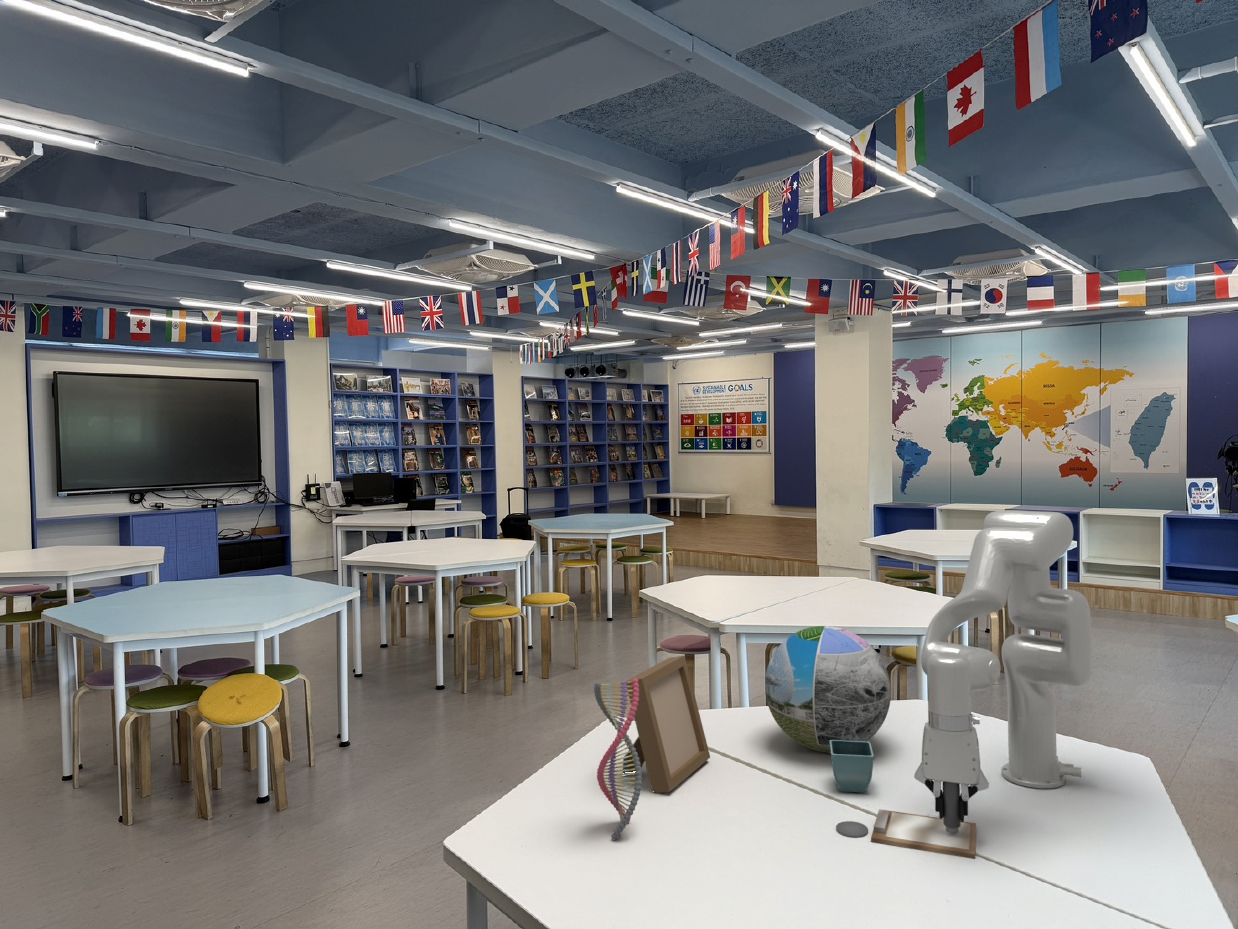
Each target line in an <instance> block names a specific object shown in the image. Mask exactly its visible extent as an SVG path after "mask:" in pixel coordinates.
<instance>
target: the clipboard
mask: <svg viewBox="0 0 1238 929" xmlns="http://www.w3.org/2000/svg"><path fill="white" fill-rule="evenodd" d="M875 817H876V818H875V821H874V824H873V830H872V833H871V836H870V842H871V843H877V844H881V845H882V844H883V845H888V846H896V847H900V848H901V847H902V848H907V849H914V850H920V851H927V852H932V853H940V854H945V855H951V856H957V857H964V858H969V859H976V847H977V846H976V843H977V842H976V841H977V823H976V822H971V821H970V822H969V821H964V822H961V821H960V824H961V826H960V827H959V828H958V833H955V834H953V833H949V832H947V831H946V826H945V825H944V824H943V818H942V819H940V818H939V817H937V816H936V817H935V816H929V815H922V814H915V813H909V812H903V811H902V812H901V811H894V810H888V809H881V808H879V809H878V811H877V815H876V816H875Z"/></svg>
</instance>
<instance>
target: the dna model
mask: <svg viewBox="0 0 1238 929" xmlns="http://www.w3.org/2000/svg"><path fill="white" fill-rule="evenodd" d="M627 683H632V686H627V685H626V684H627ZM614 685H621V686H614ZM606 686H607V687H606ZM609 686H610V687H609ZM629 687H632V688H633V690H627V688H629ZM638 688H639V684H638V680H637V678H634V679H632V681H628V682H627V680H623V681H620V682H612V683H601V682H600V681H596V682H595V683H594V688H593V689H594V690H593V691H594V697H595V700H596V703H597V705H598V706H599V708H600V710H601V711H602V713H603V714H604V715H603V716H605V717H606V718H607V720H608V721H609V723H611V725H612V727H614V730H616V731H617V734H616V736H615V738H614V740H613V741H612V743H611V744H610V745H609V747H608V748H607V751H605V753H604V754H603V756H602V758H601V759H600V761H599V764H598V768H597V771H596V773H597V774H596V779H597V782H598V786H599V789H600V790H601V792H602V793H603V795H605V798H607V800H608V801H609V802H610V805H613V808H614V809H615V811H617V813H618V815H619V823H618V825H617V826H616V827H615V829H614V830H613V833H612V834H611V836H610V837H611V839H612V840H613V839H614V841H617V839H618V838H619V837H620V835H621V833H622V832H623V831H624V829H625V828H626V826H627V825H628V822H629V823H630V821H631V818H632V817H631V816H633V815H634V811H635V809H636V807H637V804H638V801H639V800H640V798H639V797H640V795H641V791H642V780H643V777H642V775H643V774H642V769H641V767H640V765H641V764H640V762H639V757H637V756H638V753H637V752H636V748H634V743H632V739H631V738H630V736H629V735H628V731H629V730H630V726H631V725H632V722H633V721H634V720H635V719H634V716H635V712H636V711H637V706H638V701H639V698H638V697H639V689H638ZM609 689H612V690H609ZM613 689H616V690H613ZM631 691H633V694H628V692H631ZM620 692H621V693H620ZM610 696H611V697H610ZM612 696H614V697H612ZM629 696H633V698H632V699H630V698H628V697H629ZM611 700H612V701H611ZM613 700H615V701H613ZM630 700H631V701H633V702H632V703H631V702H630V703H629V702H627V701H630ZM611 703H612V704H611ZM616 704H617V705H616ZM619 704H620V705H619ZM629 706H630V707H629ZM617 708H619V709H617ZM611 710H612V711H611ZM626 710H629V711H626ZM614 714H615V715H614ZM626 714H628V715H626ZM616 715H618V716H619V717H618V716H616ZM623 742H624V743H623ZM622 743H623V744H622ZM624 746H626V747H624ZM623 747H624V748H623ZM622 748H623V749H622ZM618 750H619V751H618ZM626 750H628V751H626ZM623 751H625V752H623ZM621 752H623V753H621ZM627 753H631V755H630V756H626V757H624V756H625V755H626V754H627ZM623 755H624V756H623ZM620 756H623V757H620ZM618 757H619V758H618ZM627 757H632V758H633V759H632V760H627V761H622V760H623V759H624V758H627ZM617 761H620V762H617ZM630 761H633V762H634V764H629V765H625V766H623V763H627V762H630ZM616 765H617V766H616ZM618 765H619V766H618ZM628 766H635V768H634V769H624V770H623V767H628ZM621 768H622V769H621ZM616 769H618V770H616ZM631 770H635V771H636V772H635V773H624V774H623V771H631ZM621 772H622V773H621ZM622 775H628V776H632V775H635V777H617V776H622ZM616 780H635V782H634V781H616ZM621 784H624V785H621ZM625 784H626V785H625ZM627 784H629V785H634V786H628V785H627ZM623 788H626V789H631V790H633V791H630V790H626V789H623ZM618 791H619V792H618ZM621 792H625V793H628V794H624V793H621ZM629 793H630V795H629ZM631 794H633V795H631ZM623 796H624V797H628V798H631V800H629V799H628V798H624V797H623ZM621 799H622V800H624V801H626V802H629V804H628V803H626V802H624V801H622V800H621ZM624 805H625V806H626V807H625V806H624ZM627 807H628V808H627Z"/></svg>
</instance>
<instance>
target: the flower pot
mask: <svg viewBox="0 0 1238 929" xmlns="http://www.w3.org/2000/svg"><path fill="white" fill-rule="evenodd" d="M829 742H830V750H831V753H830V758H831V765H832V772H833V778H834V781H835V783H836V786H837V788H838V789H839V791H840V792H842V793H843V792H845V793H846V792H848V793H866V791H867V790H868V788H869V786H870V784H871V781H872V776H873V769H874V757H875V755H874V751H873V747H872V744H871V742H870V741H867V742H866V741H844V740H830V741H829Z"/></svg>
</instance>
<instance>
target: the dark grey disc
mask: <svg viewBox="0 0 1238 929" xmlns="http://www.w3.org/2000/svg"><path fill="white" fill-rule="evenodd" d="M835 830H836V832H837V833H838V834H840V835H842V836H844V837H848V838H857V839H858V838H862V837H863V838H864V837H865V836H867V835H868V834H869V828H868V827H867V826H866V825H865V824H863V823H862V822H858V821H852V820H851V821H849V820H848V821H847V820H846V821H841V822H839V823H837V824H836V825H835Z"/></svg>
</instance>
